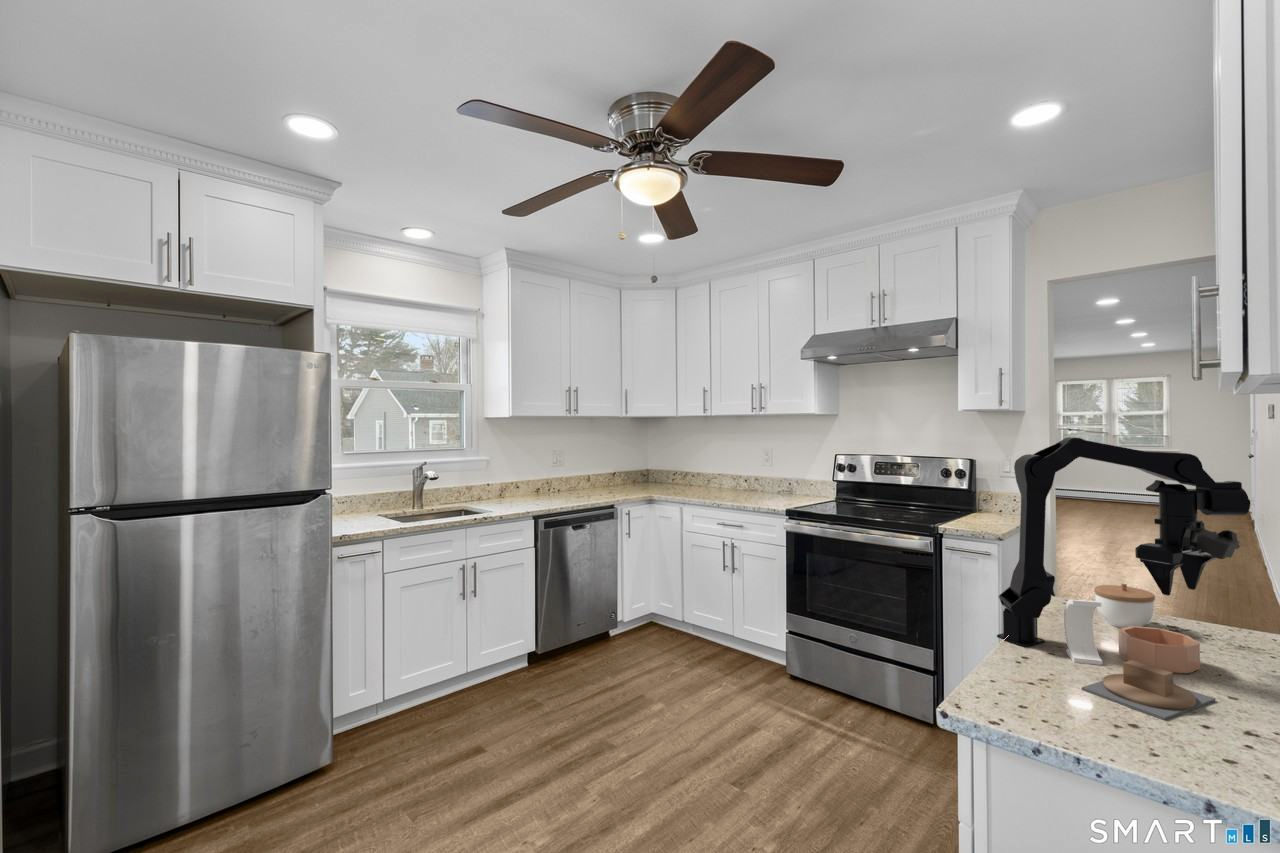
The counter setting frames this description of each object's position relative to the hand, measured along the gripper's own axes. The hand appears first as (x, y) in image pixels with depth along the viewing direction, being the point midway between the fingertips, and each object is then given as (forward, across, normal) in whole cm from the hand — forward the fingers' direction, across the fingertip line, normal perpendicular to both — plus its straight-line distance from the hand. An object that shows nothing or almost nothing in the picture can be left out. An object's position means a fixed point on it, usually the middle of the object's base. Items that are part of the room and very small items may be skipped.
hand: (1179, 592), depth 120 cm
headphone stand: (+12, -20, +6) cm, 25 cm away
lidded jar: (+12, +8, +14) cm, 20 cm away
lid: (+12, -28, -8) cm, 31 cm away
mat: (+12, -28, -8) cm, 31 cm away
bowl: (+12, -10, -1) cm, 16 cm away
